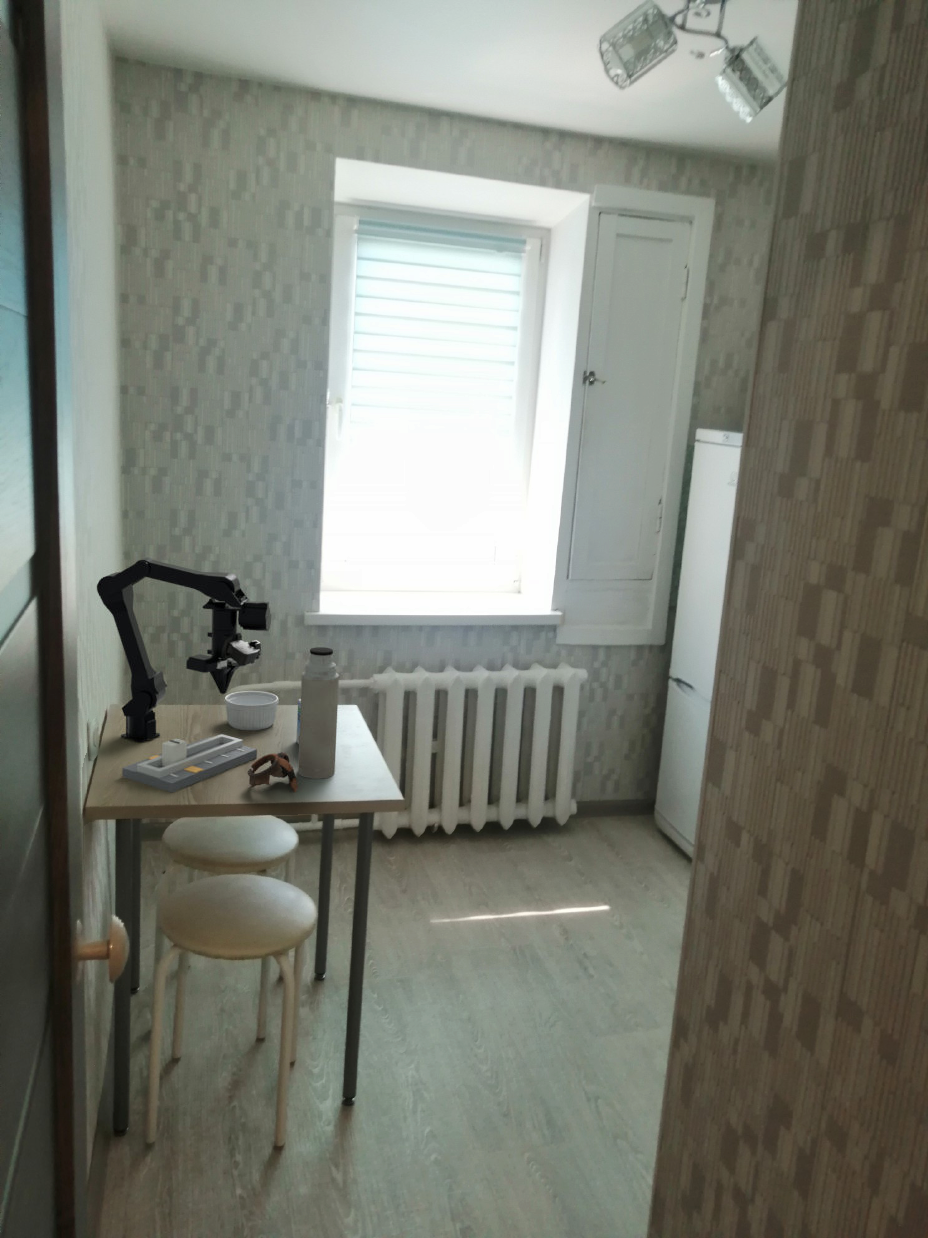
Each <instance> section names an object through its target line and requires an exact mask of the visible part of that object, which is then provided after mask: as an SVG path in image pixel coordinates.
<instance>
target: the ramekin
mask: <svg viewBox="0 0 928 1238" xmlns="http://www.w3.org/2000/svg"><path fill="white" fill-rule="evenodd" d="M224 704H225V711H226V720H227V723H228V724H229V725H230V727H232V728H233V729H238V730H242V731H258V730H259V731H260V730H264V729H267V728H270V727H271V726H272V725H274V723H275V721H276V715H277V710H278V705H279V697H278V696H277V695H276V694H274V693H271V692H267V691H258V690H245V691H244V690H243V691H236V692H232V693H229V694H227V695H226V696H225V697H224Z"/></svg>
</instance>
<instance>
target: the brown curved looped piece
mask: <svg viewBox="0 0 928 1238" xmlns="http://www.w3.org/2000/svg"><path fill="white" fill-rule="evenodd" d="M269 762H270V764H271V765H270V766H269V767H267V768H266V769H264V770H263V771H259V772H257V771H258V769H259V768H261V767H262V766H263V765H265V764H267V763H269ZM250 767H251V768H249V770H247V775H248V777H249V780H248V784H249V786H251V787H256V786H261V785H267V786H270V785H271V784H270V780H271V779H270V778H271V777H274V778H281V779H284V778H286V777H288V778H287V779H288V783H289V784H290V787H291V788H292V792H293V793H296V792H297V791H298V788H299V784H298V778H297V776H296V772H295V770H294V769H293V765H291V762H290V757H289V755H288V754H287V753H286V752H283V751H282V752H278V753H268V754H266V755H264V756H262V757H260V758H258V759H257V760H255V761H254V762H253V763H252V764H251V766H250Z"/></svg>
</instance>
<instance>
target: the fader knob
mask: <svg viewBox="0 0 928 1238" xmlns="http://www.w3.org/2000/svg"><path fill="white" fill-rule="evenodd" d="M187 745H188V741H187V740H183V739H179V738H174V739H169V740H167V741H165V742H162V743H161V754H162V766H168V765H170V764H173V763H176V762H178V761H181V760H184V759H186V758H187Z"/></svg>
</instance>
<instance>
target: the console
mask: <svg viewBox="0 0 928 1238" xmlns="http://www.w3.org/2000/svg"><path fill="white" fill-rule="evenodd" d="M257 755H258V749H257V748H253V747H251V746H250V747H249V746H247V745H244V740H243V739H241V738H237V737H234V736H229V735H226V734H224V733H223V734H222V733H221V734H218V735H216V736H208V737H204V738H201V739H199V740H196V741H193V742H191V743H187V758H186V759H184V760H181V761H178V762H176V763H173V764H170V765H168V766H162V753H159V754H157V755H153V756H150V757H148V758H147V759H146V758H145V759H144V760H140V761H137V762H135V763H132V764H129V765H126V766H123V767H122V768H121V771H122V772H121V775H122V778H125V779H127V780H131V781H134V782H137V783H140V784H144V785H147V786H150V787H153V788H157V789H159V790H163V791H166V792H169V793H174V792H177V791H179V790H181V789H184V788H186V787H189V786H191V785H194V784H196V783H198V782H201V781H203V780H206V779H209V778H211V777H213V776H216V775H218V774H221V773H223V772H225V771H228V770H230V769H232V768H235V767H237V766H239V765H242V764H244V763H245V764H246V763H247V762H249V761H252V760H255V759H257V758H258V757H257Z"/></svg>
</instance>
